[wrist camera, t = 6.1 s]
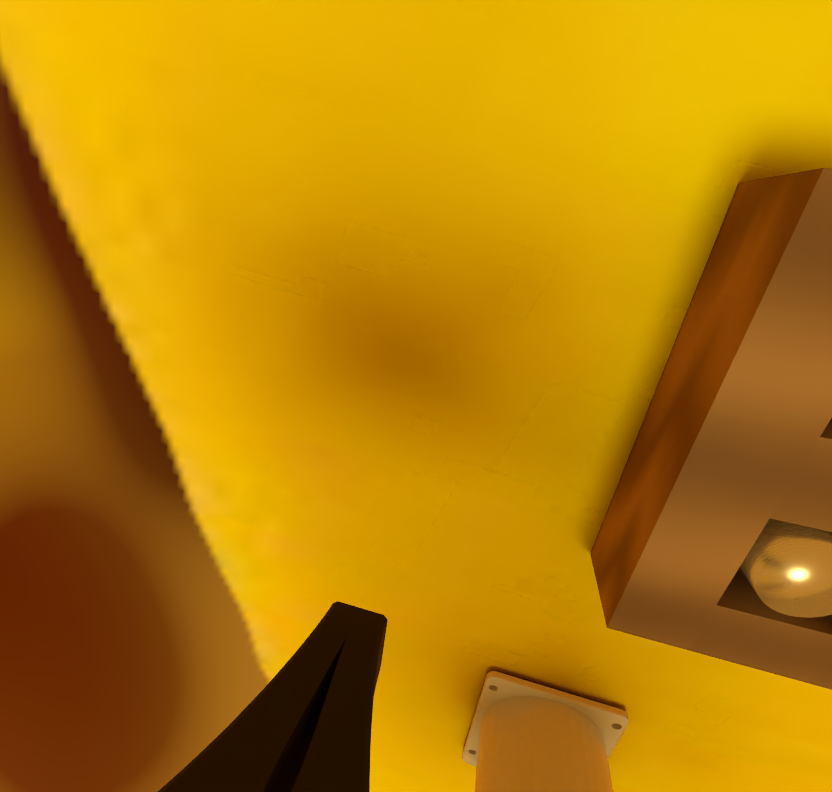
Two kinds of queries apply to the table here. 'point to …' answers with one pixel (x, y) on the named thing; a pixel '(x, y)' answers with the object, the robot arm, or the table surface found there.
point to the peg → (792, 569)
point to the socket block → (734, 442)
